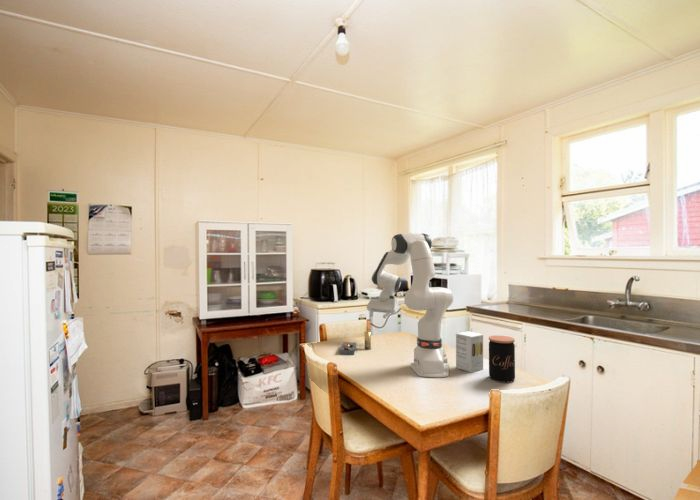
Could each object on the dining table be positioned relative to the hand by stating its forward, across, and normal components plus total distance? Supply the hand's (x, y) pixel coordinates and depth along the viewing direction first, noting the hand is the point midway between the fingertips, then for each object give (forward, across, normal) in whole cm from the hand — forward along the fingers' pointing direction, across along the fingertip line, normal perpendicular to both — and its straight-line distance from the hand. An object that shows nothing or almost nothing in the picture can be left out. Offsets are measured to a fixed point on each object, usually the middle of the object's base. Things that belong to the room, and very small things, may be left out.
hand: (377, 317), depth 215 cm
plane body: (+26, -7, -3) cm, 28 cm away
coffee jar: (+25, +75, -1) cm, 79 cm away
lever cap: (+20, 0, +4) cm, 21 cm away
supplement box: (+21, +59, +3) cm, 63 cm away
